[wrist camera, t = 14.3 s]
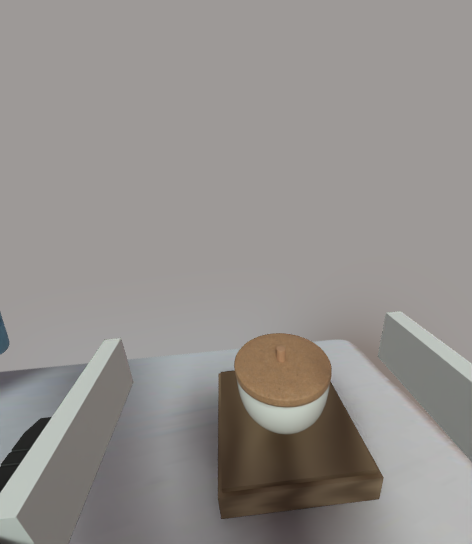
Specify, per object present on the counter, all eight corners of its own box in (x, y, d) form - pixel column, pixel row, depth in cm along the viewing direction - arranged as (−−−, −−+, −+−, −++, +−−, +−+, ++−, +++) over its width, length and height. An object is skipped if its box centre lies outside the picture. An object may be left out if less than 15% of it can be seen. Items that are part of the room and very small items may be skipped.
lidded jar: (278, 366, 38) (277, 313, 34) (345, 412, 30) (352, 348, 26) (222, 408, 32) (214, 348, 28) (288, 480, 24) (287, 407, 20)
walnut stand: (221, 519, 24) (217, 494, 23) (220, 390, 39) (218, 370, 38) (379, 499, 25) (384, 473, 23) (319, 379, 40) (320, 359, 38)
